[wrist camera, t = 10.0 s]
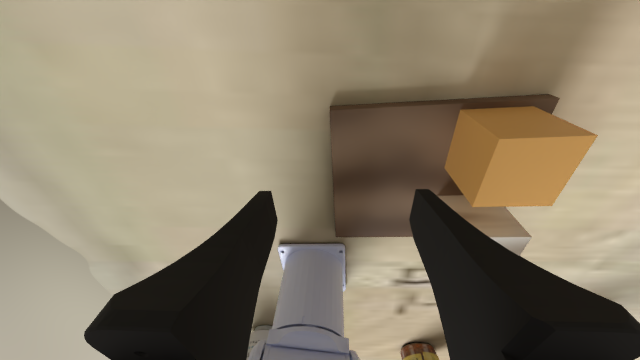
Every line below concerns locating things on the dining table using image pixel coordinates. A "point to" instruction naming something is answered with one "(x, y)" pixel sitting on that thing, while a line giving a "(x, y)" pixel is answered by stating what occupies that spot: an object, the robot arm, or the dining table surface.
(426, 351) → the sauce bottle
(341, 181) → the board
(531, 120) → the kraft paper cube
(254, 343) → the energy drink can
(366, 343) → the dining table surface
